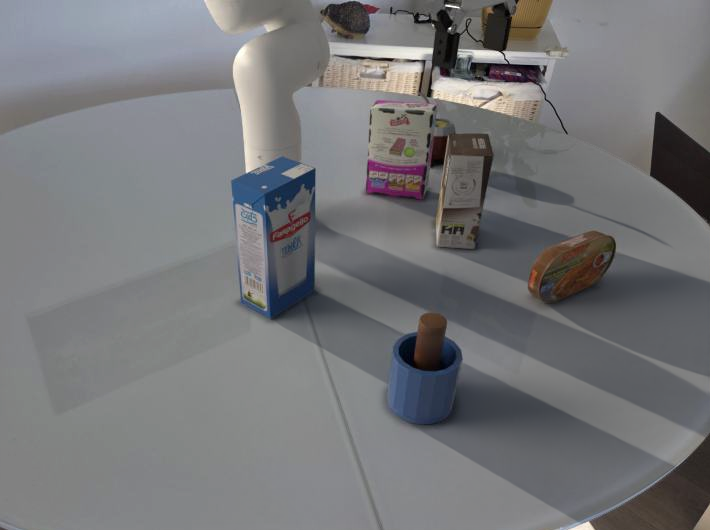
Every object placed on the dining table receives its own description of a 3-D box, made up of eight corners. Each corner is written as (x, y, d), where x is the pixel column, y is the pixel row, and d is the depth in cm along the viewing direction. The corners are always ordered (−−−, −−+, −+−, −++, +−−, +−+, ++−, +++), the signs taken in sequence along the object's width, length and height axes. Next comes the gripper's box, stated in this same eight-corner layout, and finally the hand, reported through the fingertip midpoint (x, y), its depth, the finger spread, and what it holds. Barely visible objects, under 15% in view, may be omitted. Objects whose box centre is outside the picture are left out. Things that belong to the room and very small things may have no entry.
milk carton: (285, 275, 102) (282, 155, 89) (314, 290, 98) (316, 167, 86) (240, 303, 97) (230, 180, 84) (269, 319, 93) (263, 194, 80)
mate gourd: (456, 157, 132) (468, 83, 123) (443, 172, 127) (454, 96, 118) (421, 151, 136) (430, 78, 126) (407, 165, 131) (415, 91, 121)
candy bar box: (428, 189, 122) (439, 102, 112) (423, 200, 119) (434, 112, 108) (370, 182, 126) (376, 98, 115) (364, 193, 122) (369, 107, 112)
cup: (374, 399, 80) (378, 350, 74) (416, 371, 83) (423, 323, 78) (422, 434, 75) (430, 385, 70) (465, 404, 78) (476, 354, 73)
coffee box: (476, 249, 105) (494, 156, 94) (435, 247, 106) (449, 154, 96) (472, 222, 111) (490, 132, 101) (434, 220, 113) (448, 131, 102)
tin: (534, 310, 91) (548, 260, 86) (518, 300, 94) (530, 250, 88) (608, 279, 96) (626, 230, 91) (590, 270, 98) (607, 221, 93)
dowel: (403, 396, 78) (413, 319, 71) (419, 385, 80) (431, 308, 72) (422, 410, 77) (435, 332, 69) (438, 398, 78) (453, 321, 70)
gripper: (514, -120, 74) (487, 38, 85) (413, -104, 67) (398, 67, 78) (574, -119, 70) (537, 48, 80) (472, -101, 62) (447, 81, 73)
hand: (469, 57), depth 79 cm, fingers open, 9 cm apart
